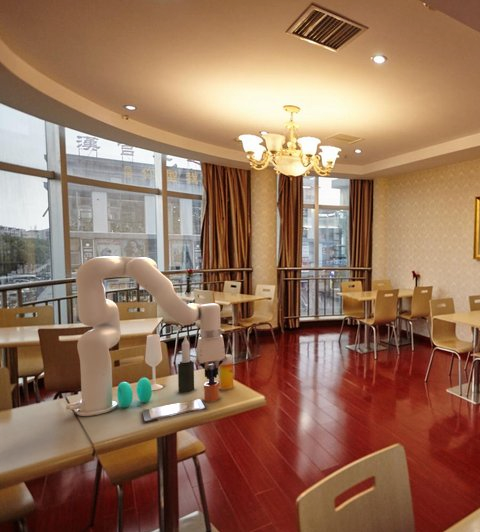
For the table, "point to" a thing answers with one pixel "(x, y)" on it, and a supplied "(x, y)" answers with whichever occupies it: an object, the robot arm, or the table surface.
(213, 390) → the pen cup
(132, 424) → the table surface
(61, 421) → the table surface
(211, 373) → the marker
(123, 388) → the pair of turquoise ovals
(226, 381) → the beer glass
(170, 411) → the tablet
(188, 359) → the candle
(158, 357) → the champagne flute
